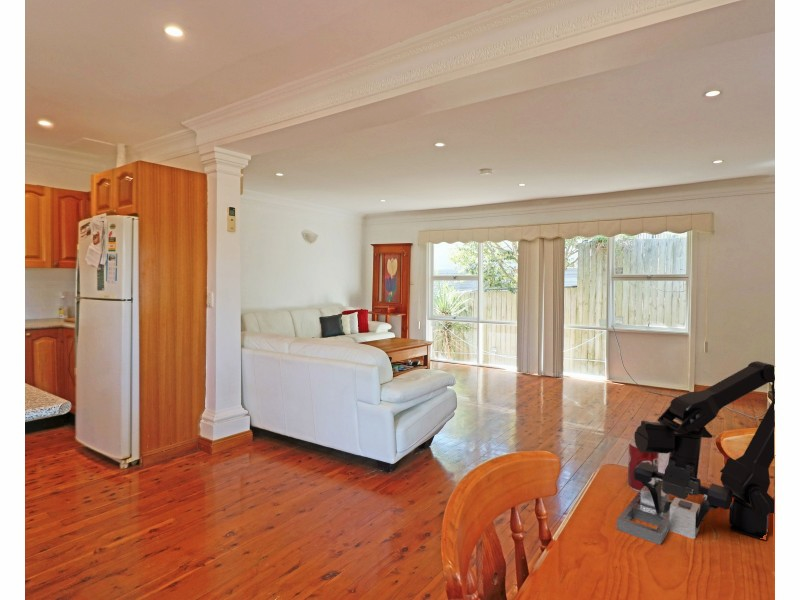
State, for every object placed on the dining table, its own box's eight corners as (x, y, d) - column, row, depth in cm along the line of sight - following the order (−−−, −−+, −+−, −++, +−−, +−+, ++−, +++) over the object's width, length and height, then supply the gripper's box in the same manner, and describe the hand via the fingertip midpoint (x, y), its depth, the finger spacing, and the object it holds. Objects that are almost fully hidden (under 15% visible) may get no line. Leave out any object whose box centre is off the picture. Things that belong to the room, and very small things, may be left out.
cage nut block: (699, 529, 106) (700, 503, 105) (694, 539, 102) (695, 511, 101) (674, 521, 109) (675, 495, 108) (669, 530, 105) (670, 503, 105)
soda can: (621, 484, 128) (622, 442, 127) (639, 479, 131) (640, 438, 130) (645, 496, 121) (646, 451, 120) (663, 490, 124) (665, 447, 123)
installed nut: (668, 512, 113) (669, 487, 112) (663, 521, 109) (664, 495, 109) (645, 505, 116) (646, 481, 116) (640, 513, 113) (640, 488, 112)
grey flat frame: (679, 512, 113) (680, 502, 113) (660, 545, 100) (660, 533, 100) (639, 500, 119) (640, 490, 119) (616, 529, 106) (616, 518, 106)
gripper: (629, 450, 104) (622, 516, 106) (729, 479, 92) (720, 554, 93) (643, 438, 113) (636, 499, 114) (736, 463, 100) (728, 532, 102)
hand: (676, 520), depth 105 cm, fingers open, 7 cm apart
